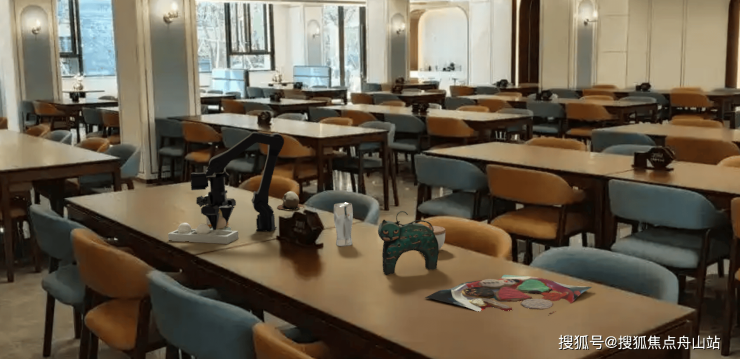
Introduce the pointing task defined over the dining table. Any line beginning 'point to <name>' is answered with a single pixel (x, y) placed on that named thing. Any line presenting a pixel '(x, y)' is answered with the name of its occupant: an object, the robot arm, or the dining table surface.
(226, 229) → the egg stand
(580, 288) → the platter
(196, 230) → the carton
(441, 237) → the lidded jar
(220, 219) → the brown egg
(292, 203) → the skull
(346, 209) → the beer glass
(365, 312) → the dining table surface
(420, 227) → the ceramic cat
